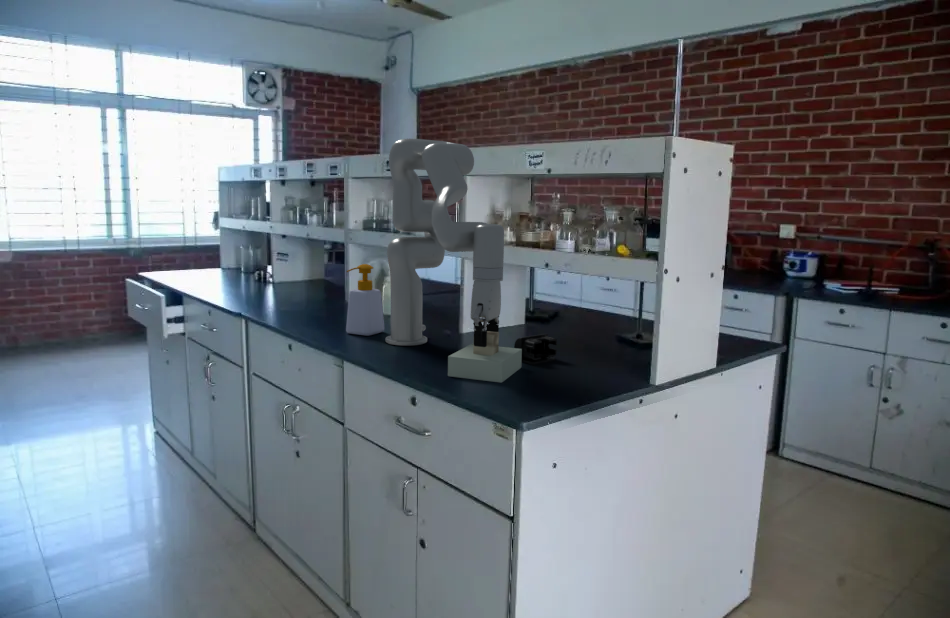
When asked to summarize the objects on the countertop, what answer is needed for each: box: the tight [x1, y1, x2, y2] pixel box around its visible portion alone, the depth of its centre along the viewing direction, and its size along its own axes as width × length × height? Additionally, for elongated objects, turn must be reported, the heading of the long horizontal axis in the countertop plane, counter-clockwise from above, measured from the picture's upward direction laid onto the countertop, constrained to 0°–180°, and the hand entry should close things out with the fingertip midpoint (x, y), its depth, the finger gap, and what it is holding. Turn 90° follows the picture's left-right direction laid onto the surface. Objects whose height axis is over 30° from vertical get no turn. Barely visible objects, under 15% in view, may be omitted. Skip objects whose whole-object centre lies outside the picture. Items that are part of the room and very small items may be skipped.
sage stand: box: [447, 343, 522, 383], centre depth 170 cm, size 16×14×5 cm
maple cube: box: [472, 331, 500, 355], centre depth 169 cm, size 5×5×5 cm
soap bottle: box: [345, 263, 385, 337], centre depth 212 cm, size 10×14×22 cm
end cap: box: [513, 333, 558, 366], centre depth 184 cm, size 10×7×7 cm
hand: (486, 342), depth 169 cm, fingers open, 8 cm apart
